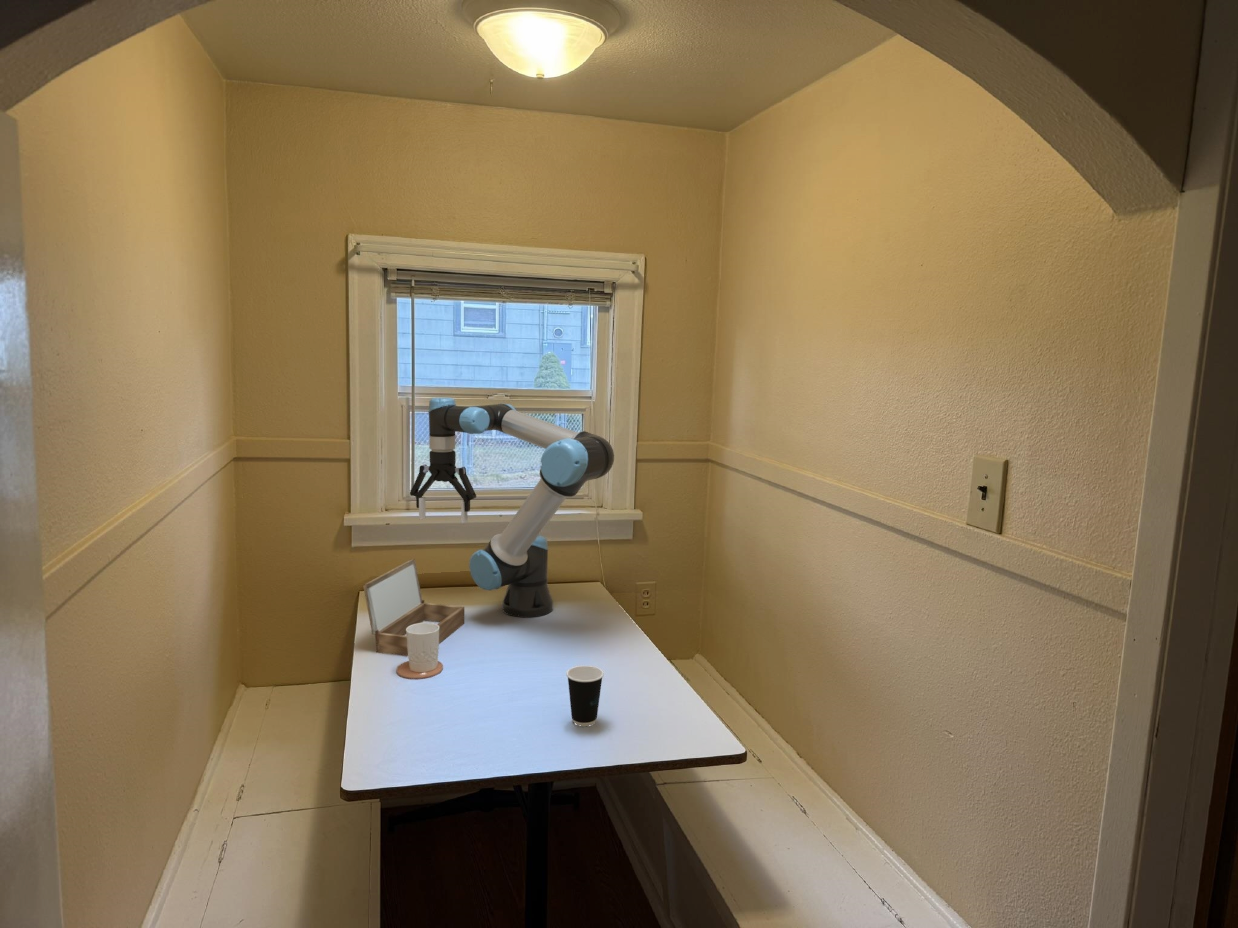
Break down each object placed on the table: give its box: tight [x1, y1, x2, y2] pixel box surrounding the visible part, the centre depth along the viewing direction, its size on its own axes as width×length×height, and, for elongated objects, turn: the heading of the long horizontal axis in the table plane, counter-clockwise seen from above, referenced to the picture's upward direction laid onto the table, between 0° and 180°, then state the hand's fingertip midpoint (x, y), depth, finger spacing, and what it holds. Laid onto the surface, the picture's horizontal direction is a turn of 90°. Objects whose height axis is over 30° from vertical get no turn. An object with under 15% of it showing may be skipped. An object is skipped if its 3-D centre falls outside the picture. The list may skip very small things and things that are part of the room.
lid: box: [362, 558, 423, 635], centre depth 216 cm, size 13×26×1 cm
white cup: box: [405, 622, 440, 672], centre depth 194 cm, size 8×8×10 cm
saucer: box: [396, 660, 444, 680], centre depth 194 cm, size 11×11×1 cm
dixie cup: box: [566, 665, 605, 727], centre depth 169 cm, size 8×8×11 cm
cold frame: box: [374, 599, 466, 657], centre depth 215 cm, size 13×26×6 cm, turn 167°
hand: (443, 520), depth 237 cm, fingers open, 13 cm apart
